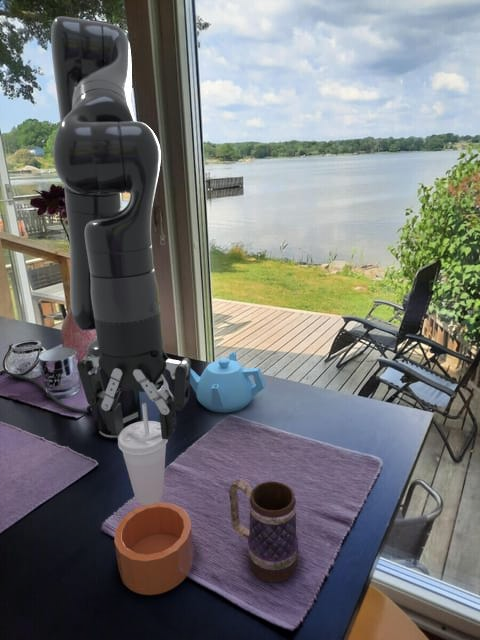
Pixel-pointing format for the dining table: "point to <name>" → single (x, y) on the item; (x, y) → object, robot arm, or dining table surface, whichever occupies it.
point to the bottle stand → (154, 548)
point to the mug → (268, 528)
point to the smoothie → (144, 458)
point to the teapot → (226, 385)
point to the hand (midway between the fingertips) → (142, 433)
